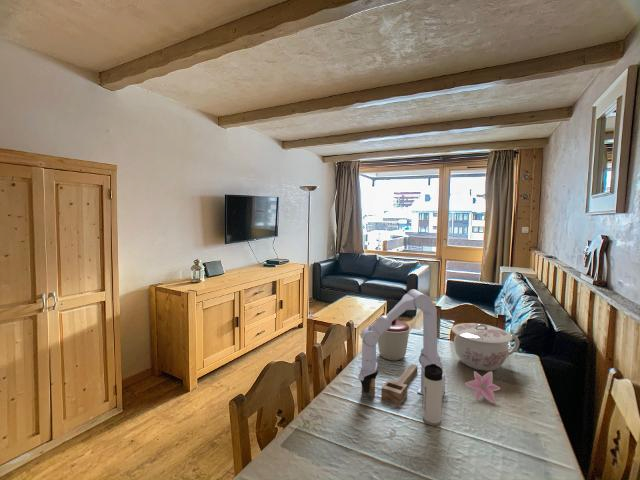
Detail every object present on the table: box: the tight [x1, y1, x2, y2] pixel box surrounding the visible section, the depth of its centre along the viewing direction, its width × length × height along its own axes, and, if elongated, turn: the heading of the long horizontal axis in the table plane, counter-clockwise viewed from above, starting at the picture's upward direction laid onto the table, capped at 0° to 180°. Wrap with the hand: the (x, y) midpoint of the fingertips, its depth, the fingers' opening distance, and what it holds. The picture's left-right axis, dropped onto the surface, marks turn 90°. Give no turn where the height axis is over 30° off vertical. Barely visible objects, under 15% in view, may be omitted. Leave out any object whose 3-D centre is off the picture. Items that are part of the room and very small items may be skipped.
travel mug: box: [422, 364, 444, 427], centre depth 118 cm, size 6×7×20 cm
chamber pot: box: [451, 322, 520, 372], centre depth 163 cm, size 28×28×21 cm
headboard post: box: [381, 363, 418, 405], centre depth 143 cm, size 8×30×4 cm, turn 146°
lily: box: [464, 370, 501, 404], centre depth 135 cm, size 12×12×10 cm
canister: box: [377, 318, 412, 362], centre depth 172 cm, size 18×18×21 cm
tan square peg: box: [361, 378, 376, 401], centre depth 134 cm, size 5×2×8 cm, turn 56°
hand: (368, 389), depth 134 cm, fingers open, 3 cm apart
